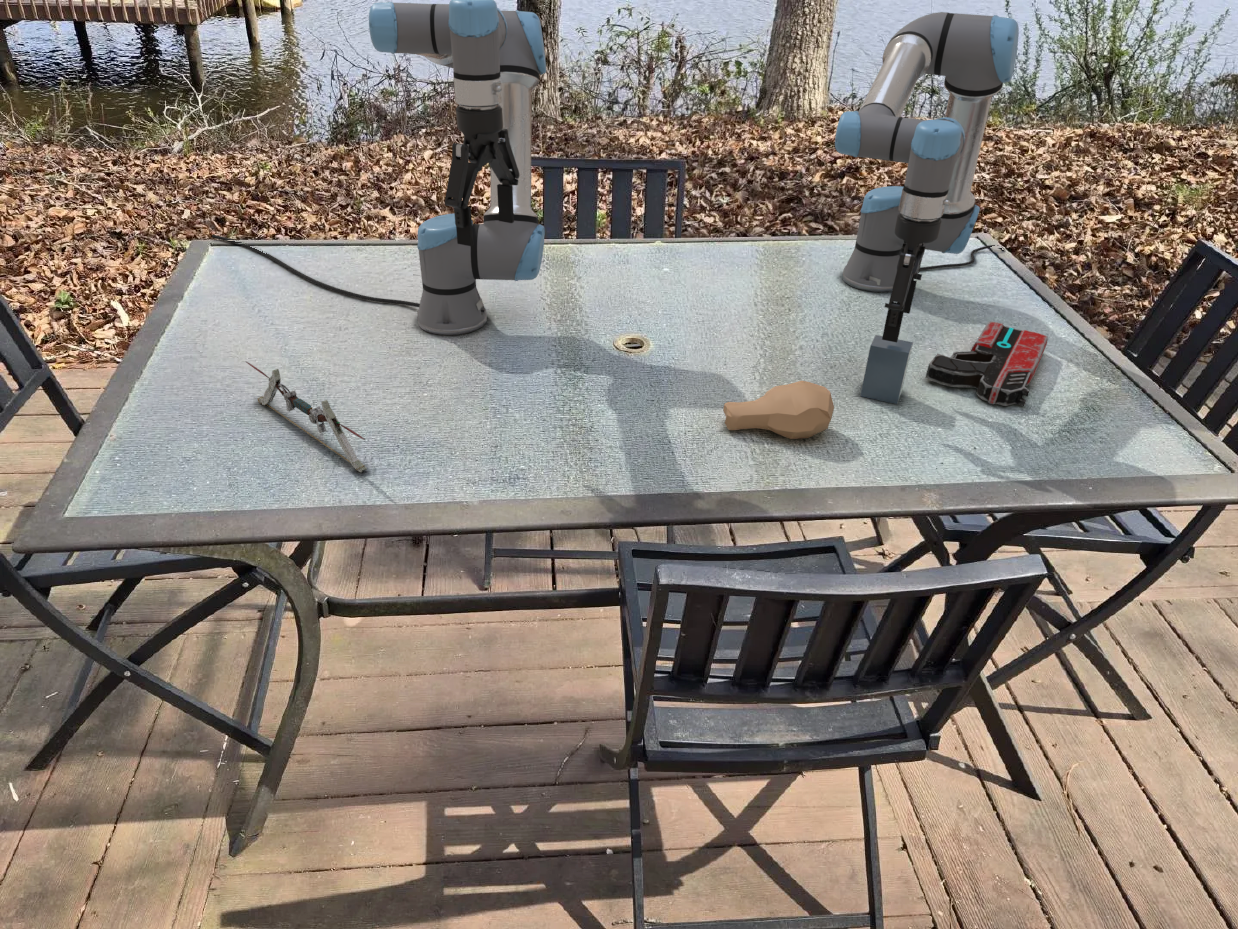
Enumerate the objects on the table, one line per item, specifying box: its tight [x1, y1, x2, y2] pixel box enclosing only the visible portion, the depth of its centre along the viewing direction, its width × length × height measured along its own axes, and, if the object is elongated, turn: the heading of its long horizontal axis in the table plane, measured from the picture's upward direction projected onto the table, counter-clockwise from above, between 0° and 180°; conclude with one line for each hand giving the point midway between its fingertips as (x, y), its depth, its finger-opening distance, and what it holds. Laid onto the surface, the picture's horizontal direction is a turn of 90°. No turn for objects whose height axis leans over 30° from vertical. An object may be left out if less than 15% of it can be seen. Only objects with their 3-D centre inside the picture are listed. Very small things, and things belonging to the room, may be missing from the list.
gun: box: [925, 320, 1049, 407], centre depth 183 cm, size 4×31×19 cm
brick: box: [859, 334, 914, 405], centre depth 171 cm, size 7×5×11 cm
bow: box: [244, 360, 368, 473], centre depth 153 cm, size 39×2×10 cm, turn 47°
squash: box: [722, 380, 835, 440], centre depth 159 cm, size 11×20×9 cm, turn 90°
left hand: (486, 232), depth 154 cm, fingers open, 13 cm apart
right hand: (896, 325), depth 166 cm, fingers open, 13 cm apart
